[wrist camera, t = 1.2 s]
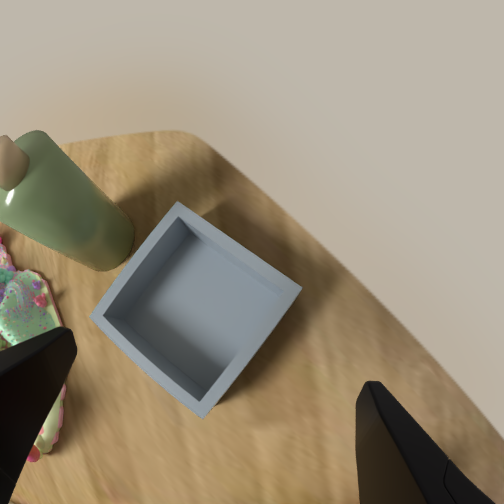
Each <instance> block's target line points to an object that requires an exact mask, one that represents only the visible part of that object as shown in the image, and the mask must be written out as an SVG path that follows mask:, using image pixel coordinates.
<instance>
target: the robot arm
mask: <svg viewBox="0 0 504 504" xmlns="http://www.w3.org/2000/svg"><path fill="white" fill-rule="evenodd" d="M76 355H77V346H76V343H75V339H74V336H73V332H72V331H71V329H69V328H66V327H63V326H59V327H56V328H54V329H52V330H49V331H47V332H44V333H42V334H40V335H37V336H35V337H32V338H30V339H28V340H25V341H23V342H21V343H18V344H16V345H13V346H11V347H9V348H6V349H4V350H2V351H0V504H8V503H9V501H10V498H11V496H12V493H13V491H14V488H15V486H16V483H17V480H18V478H19V476H20V473H21V471H22V469H23V467H24V464H25V462H26V460H27V458H28V455H29V453H30V451H31V449H32V447H33V445H34V443H35V441H36V439H37V436H38V434H39V432H40V430H41V428H42V426H43V424H44V422H45V420H46V418H47V417H48V415H49V413H50V411H51V409H52V407H53V405H54V403H55V401H56V399H57V398H58V396H59V394H60V392H61V390H62V387H63V385H64V383H65V380H66V378H67V376H68V373H69V371H70V369H71V366H72V364H73V362H74V360H75V357H76ZM355 450H356V462H357V473H358V486H359V500H360V504H495V503H494V502H493V501H492V500H491V499H490V498H489V497H487V496H486V495H485V494H484V493H483V492H482V491H481V490H480V489H478V488H477V487H476V486H475V485H474V484H473V483H472V482H471V481H470V480H469V479H468V478H467V477H466V476H465V475H464V474H463V473H462V472H461V471H460V470H459V469H458V468H457V467H456V465H455V464H454V463H453V462H452V461H451V460H450V459H448V457H447V455H446V454H445V453H444V452H443V451H442V450H441V449H440V448H439V446H438V445H437V444H436V443H435V442H434V441H433V440H432V439H431V437H430V436H429V435H428V434H427V433H426V432H425V431H424V430H423V429H422V427H421V426H420V425H419V424H418V423H417V422H416V421H415V420H414V419H413V417H412V416H411V415H410V414H409V413H408V412H407V411H406V410H405V408H404V407H403V406H402V405H401V404H400V403H399V402H398V401H397V400H396V398H395V397H394V396H393V395H392V394H391V393H390V392H389V391H388V390H387V389H386V387H385V386H384V385H383V384H382V383H381V382H379V381H367V382H365V384H364V386H363V388H362V390H361V392H360V394H359V396H358V398H357V401H356V440H355Z"/></svg>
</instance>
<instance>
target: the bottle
mask: <svg viewBox="0 0 504 504" xmlns="http://www.w3.org/2000/svg"><path fill="white" fill-rule="evenodd" d="M0 221H1V222H2V223H4V224H6V225H8V226H9V227H11V228H13V229H15V230H17V231H18V232H20V233H22V234H24V235H26V236H28V237H29V238H31V239H33V240H35V241H37V242H39V243H41V244H43V245H45V246H47V247H48V248H50V249H52V250H54V251H56V252H58V253H60V254H62V255H64V256H66V257H68V258H70V259H72V260H74V261H76V262H78V263H81V264H83V265H85V266H87V267H89V268H91V269H93V270H96V271H109V270H111V269H114V268H116V267H117V266H118V265H120V264H121V263H122V262H123V261H124V260H125V259H126V257H127V256H128V254H129V253H130V251H131V248H132V245H133V242H134V227H133V224H132V221H131V220H130V218H129V217H128V216H127V215H126V214H125V213H124V212H123V211H122V210H121V209H120V208H119V207H118V206H117V205H116V204H115V203H114V202H113V201H112V200H111V199H110V198H109V197H108V196H107V195H106V194H105V193H104V192H103V191H102V190H101V189H100V188H99V187H98V186H97V185H96V184H95V183H94V182H93V181H92V180H91V179H90V178H89V177H88V176H87V175H86V174H85V173H84V172H83V171H82V170H81V169H80V168H79V167H78V166H77V165H76V164H75V163H74V162H73V161H72V160H71V159H70V158H69V157H68V156H67V155H66V154H65V153H64V152H63V151H62V150H61V149H60V148H59V146H58V145H57V144H56V143H55V142H54V141H53V140H52V139H51V138H50V137H49V136H48V135H47V134H46V133H45V132H43V131H39V130H36V131H31V132H29V133H26V134H24V135H22V136H21V137H19V138H18V139H17V140H15V141H14V142H13V141H12V140H11V139H10V138H9V137H8V136H6V135H3V136H1V137H0Z"/></svg>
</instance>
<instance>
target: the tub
mask: <svg viewBox="0 0 504 504" xmlns="http://www.w3.org/2000/svg"><path fill="white" fill-rule="evenodd" d="M301 290H302V287H301V286H299V285H298V284H297V283H295V282H294V281H292V280H291V279H289V278H288V277H286V276H285V275H284V274H282V273H281V272H279V271H278V270H276V269H275V268H273V267H272V266H271V265H269V264H268V263H266V262H265V261H263V260H262V259H260V258H259V257H258V256H256V255H255V254H253V253H252V252H250V251H249V250H247V249H246V248H245V247H243V246H242V245H240V244H239V243H237V242H236V241H235V240H233V239H232V238H230V237H229V236H227V235H226V234H224V233H223V232H222V231H220V230H219V229H217V228H216V227H214V226H213V225H211V224H210V223H209V222H207V221H206V220H204V219H203V218H201V217H200V216H198V215H197V214H196V213H194V212H193V211H191V210H190V209H188V208H187V207H185V206H184V205H183V204H181V203H180V202H178V201H177V202H176V203H175V204H174V205H173V207H172V208H171V209H170V210H169V211H168V213H167V214H166V215H165V216H164V218H163V219H162V220H161V221H160V222H159V224H158V225H157V226H156V227H155V229H154V230H153V231H152V232H151V234H150V235H149V236H148V237H147V239H146V240H145V241H144V242H143V244H142V245H141V246H140V248H139V249H138V250H137V251H136V253H135V254H134V255H133V257H132V258H131V259H130V261H129V262H128V263H127V265H126V266H125V267H124V269H123V270H122V271H121V273H120V274H119V275H118V277H117V278H116V279H115V281H114V282H113V284H112V285H111V286H110V288H109V289H108V291H107V292H106V293H105V295H104V296H103V298H102V299H101V300H100V302H99V303H98V305H97V306H96V308H95V309H94V311H93V312H92V313H91V315H90V316H89V317H90V318H91V319H92V321H93V322H94V323H95V324H96V325H97V326H98V327H99V328H100V329H101V330H102V331H103V332H104V333H105V334H106V335H107V336H108V337H109V338H110V339H111V340H112V341H113V342H114V343H115V344H116V345H117V346H118V347H119V348H120V349H121V350H122V351H123V352H124V353H125V354H126V355H127V356H128V357H129V358H130V359H131V360H132V361H133V362H135V363H136V364H137V365H138V366H139V367H140V368H141V369H142V370H143V371H144V372H145V373H147V374H148V375H149V376H150V377H151V378H152V379H153V380H155V381H156V382H157V383H158V384H159V385H160V386H161V387H163V388H164V389H165V390H166V391H167V392H169V393H170V394H171V395H172V396H173V397H175V398H176V399H177V400H178V401H180V402H181V403H182V404H183V405H185V406H186V407H187V408H188V409H190V410H191V411H192V412H194V413H195V414H196V415H198V416H199V417H200V418H201V419H203V418H204V417H205V416H206V415H207V414H208V413H209V412H210V411H211V410H212V409H213V407H214V406H215V405H216V404H217V403H218V401H219V400H220V399H221V398H222V396H223V395H224V394H225V393H226V391H227V390H228V389H229V388H230V386H231V385H232V384H233V383H234V381H235V380H236V379H237V378H238V376H239V375H240V374H241V372H242V371H243V370H244V369H245V367H246V366H247V365H248V363H249V362H250V361H251V359H252V358H253V357H254V356H255V354H256V353H257V352H258V350H259V349H260V348H261V346H262V345H263V344H264V342H265V341H266V340H267V338H268V337H269V336H270V334H271V333H272V331H273V330H274V329H275V327H276V326H277V325H278V323H279V322H280V320H281V319H282V318H283V316H284V315H285V314H286V312H287V311H288V309H289V308H290V307H291V305H292V304H293V302H294V301H295V300H296V298H297V297H298V295H299V293H300V291H301Z"/></svg>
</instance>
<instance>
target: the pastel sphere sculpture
mask: <svg viewBox="0 0 504 504" xmlns="http://www.w3.org/2000/svg"><path fill="white" fill-rule="evenodd" d="M1 243H2V239H1V237H0V351H2V350H4V349H6V348H9V347H11V346H13V345H16V344H18V343H21V342H23V341H25V340H28V339H30V338H32V337H35V336H37V335H40V334H42V333H44V332H47V331H49V330H52V329H54V328H56V327H59V326H63V325H62V322H61V319H60V316H59V313H58V311H57V308H56V305H55V303H54V300H53V297H52V294H51V291H50V288H49V285H48V282H47V281H46V280H43V279H42V277H41V275H40V274H38V273H35V272H33V271H30V270H25V271H23V272H22V271H19V270H18V271H16V269H15V267H14V266H12V261H11V257H10V255H9V254H7V252H6V247H5V246H4V245H2V244H1ZM65 392H66V386H65V383H64V385H63V387H62V390H61V392H60V394H59V396H58V398H57V399H56V401H55V403H54V405H53V407H52V409H51V411H50V413H49V415H48V417H47V418H46V420H45V422H44V424H43V426H42V428H41V430H40V432H39V434H38V436H37V439H36V441H35V443H34V445H33V447H32V449H31V451H30V453H29V455H28V458H27V461H29V462H36V461H38V460H39V459H41V458H42V457H43V454H45V453H48V452H50V451H51V450H52V447H53V444H54V443H56V442H57V441H58V435H59V430H60V428H61V427H62V422H63V413H64V409H63V406H62V405H63V399H64V398H65Z"/></svg>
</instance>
